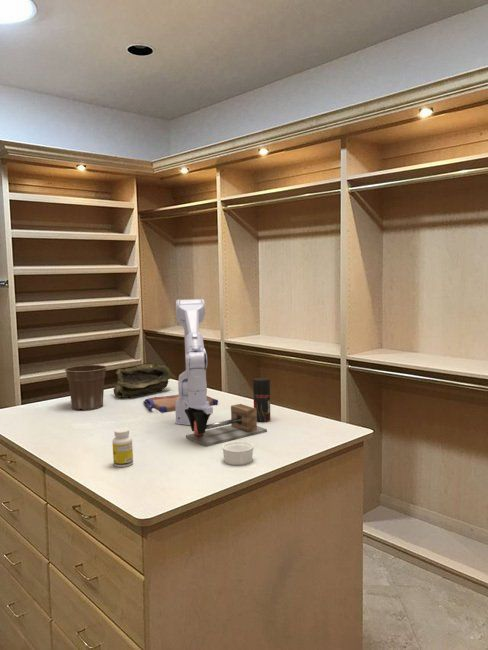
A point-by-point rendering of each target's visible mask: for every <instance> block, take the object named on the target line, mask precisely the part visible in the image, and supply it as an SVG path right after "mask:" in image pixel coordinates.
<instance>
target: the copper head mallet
mask: <svg viewBox="0 0 488 650" xmlns="http://www.w3.org/2000/svg"><path fill="white" fill-rule="evenodd" d="M238 422H242V418H241V417H240V418H236V419H231V418H230V419H227V420H223V421H218V422H213V423H207V425H206V429H205V431H207V430H211V429H216V428H220V427H225V426H229V425H231V424H233V423H238ZM193 433H194V437H196V438H200V437H203V436H204V433H202V434H198V431H197V424H196V420H194V431H193Z"/></svg>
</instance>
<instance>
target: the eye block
mask: <svg viewBox="0 0 488 650" xmlns="http://www.w3.org/2000/svg"><path fill="white" fill-rule="evenodd" d="M230 416H231V417H230V420H231V419H236V418H240V417H241V418H242V422H238V423H233V424H228V425H224V426H219V427H215V428H210V429H206V430H205V433H204V436H203V437H200V438H196V437H194V432H193V433H190V434H189V433H188V434H186V435H185V438H186V439H187V440H191V442H192V441H193V442H194V443H196V444H199V445H201V446H203V447H209V446H210V447H211V446H214V445H218V444H222V443H223V444H224V443H228V442H232V441H236V440H238V439H242V438H247V437H251V436H256V435H260V434H263V433H268V429H267V428H264V427H261V426H258V422H257V409H256V408H254V407H251V406H249V405H246V404H242V403H237V404H233V405H230Z"/></svg>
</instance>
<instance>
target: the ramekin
mask: <svg viewBox="0 0 488 650" xmlns="http://www.w3.org/2000/svg"><path fill="white" fill-rule="evenodd" d="M221 447H222V449H221V450H222V451H223V460H224V462H225V463H226V464H228V465H231V466H233V465H234V466H244V465H247V464H250V463H251V462H252V461H253V455H254V447H255V446H254V443H251V442H249V441H243V440H233V441H227V442H225V443H223V444H222V446H221Z"/></svg>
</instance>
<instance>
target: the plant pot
mask: <svg viewBox="0 0 488 650" xmlns="http://www.w3.org/2000/svg"><path fill="white" fill-rule="evenodd" d="M107 369H108V367H107V366H106V365H102V364H101V365H100V364H86V365H85V364H84V365H73V366H68V367H66V368H64V371H65V373H66V379H67V381H68V387H69V388H68V389H69V395H70V403H71V408H72V409H73V410H76V411H80V410H82V411H88V410H89V411H91V410H96V409H100V408H102V407H103V406H104V391H105V378H106V371H107Z"/></svg>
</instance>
